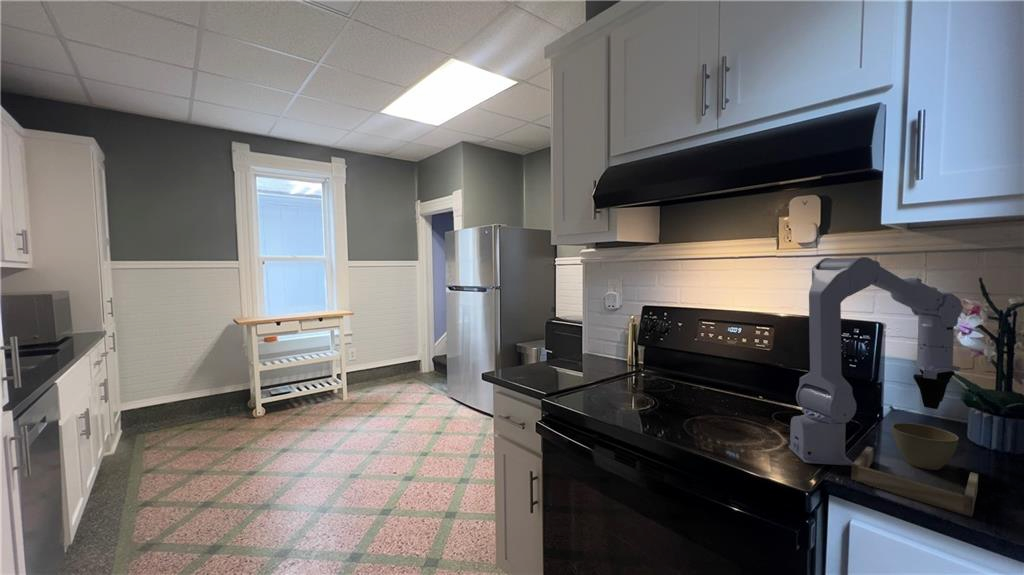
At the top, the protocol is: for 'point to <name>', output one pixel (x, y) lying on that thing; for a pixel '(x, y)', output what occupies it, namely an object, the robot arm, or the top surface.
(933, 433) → the yellow bowl
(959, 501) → the frame
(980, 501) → the top surface
